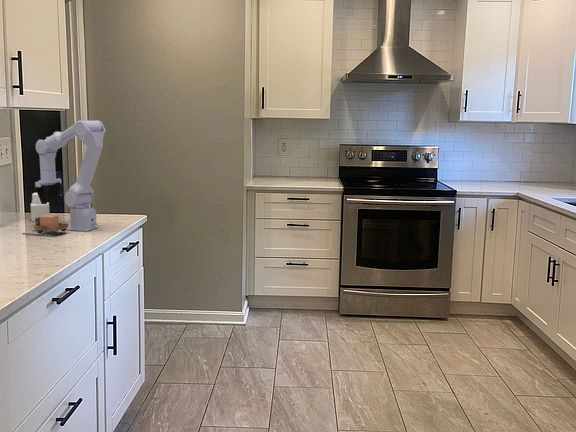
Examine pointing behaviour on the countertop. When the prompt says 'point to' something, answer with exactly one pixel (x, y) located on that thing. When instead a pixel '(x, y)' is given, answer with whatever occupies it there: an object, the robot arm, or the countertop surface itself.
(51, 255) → the countertop surface
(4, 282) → the countertop surface
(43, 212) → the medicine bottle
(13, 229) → the countertop surface
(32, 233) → the rails
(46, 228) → the cart
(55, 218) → the terracotta block
